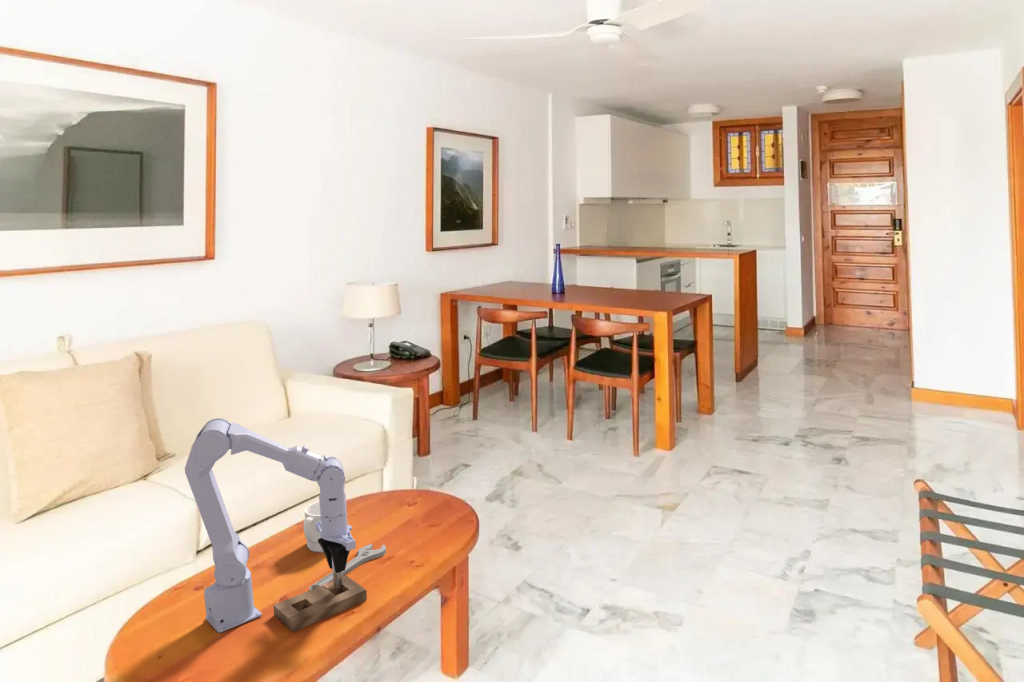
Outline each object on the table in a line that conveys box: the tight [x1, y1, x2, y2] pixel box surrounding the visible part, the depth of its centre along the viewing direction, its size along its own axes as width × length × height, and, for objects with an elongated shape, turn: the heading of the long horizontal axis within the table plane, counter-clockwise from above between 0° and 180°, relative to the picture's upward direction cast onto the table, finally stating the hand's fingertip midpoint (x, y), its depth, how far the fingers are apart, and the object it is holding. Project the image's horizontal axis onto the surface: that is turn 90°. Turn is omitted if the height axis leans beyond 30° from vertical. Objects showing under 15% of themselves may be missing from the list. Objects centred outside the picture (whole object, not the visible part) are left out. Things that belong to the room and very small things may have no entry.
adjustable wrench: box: [308, 543, 387, 591], centre depth 173 cm, size 25×6×2 cm, turn 146°
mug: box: [303, 501, 324, 553], centre depth 185 cm, size 13×10×10 cm
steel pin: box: [332, 559, 344, 587], centre depth 158 cm, size 2×2×8 cm
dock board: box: [273, 575, 368, 633], centre depth 156 cm, size 18×9×3 cm, turn 133°
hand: (337, 569), depth 158 cm, fingers closed on steel pin, 2 cm apart
